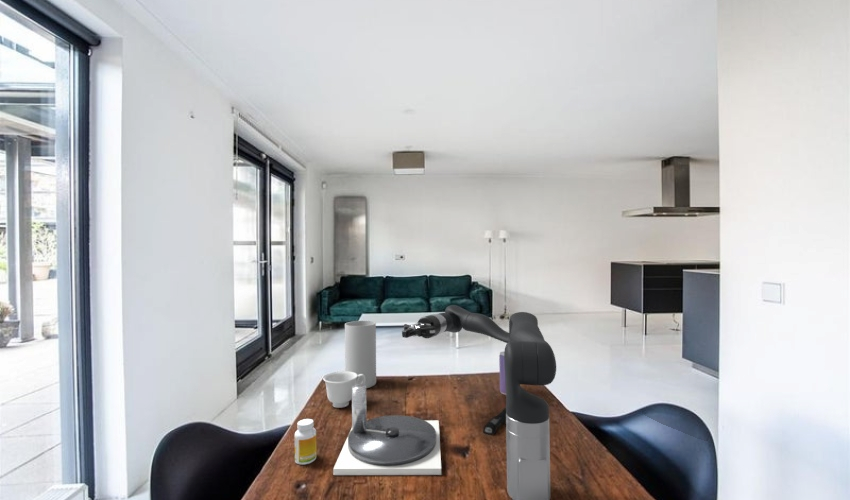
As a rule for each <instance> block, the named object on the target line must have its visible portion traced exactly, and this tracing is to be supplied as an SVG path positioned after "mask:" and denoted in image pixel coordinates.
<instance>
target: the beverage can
mask: <svg viewBox="0 0 850 500" xmlns="http://www.w3.org/2000/svg"><path fill="white" fill-rule="evenodd" d="M504 351H505V350H503V351H500V352H499V356H498V357H499V360H498V361H499V362H498V363H499V392H500V394H503V395H505V396H506V379H505V365H504Z"/></svg>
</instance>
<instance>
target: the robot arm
mask: <svg viewBox="0 0 850 500" xmlns="http://www.w3.org/2000/svg"><path fill="white" fill-rule="evenodd" d="M538 323H539V322H538V317H537V316H535V314H533V313H530V312H527V311H518V312H514V313H512V314H511V315H510V317H509V320H508V324H509V325H508V331H507V330H506V331H505V330H504V328H501V327H500V326H499V324H497V323H496V322H495V321H494V320H493V319H492V318H490V317H489V316H487V315H486V314H482V313H476V312H471V311H469V310H466V309H464V308H463V307H461V306H459V305H456V304H451V305H448V306H446V308H445V310H444V312H440V313H435V314H434V313H433V314H430V315H425V316H422V317H421V318H419V319H418V321H417V322H415V323H414V324H411V325H409V324H407V323H405V324H403V330H402V331H401V336H402V338H404V339H405V338H406V339H407V338H410V337H419V338H420V337H421V338H423V339H431V338H433V337H437V336H439V335H441V334H442V333H446V332H449V333H453V334H454V333H460V332H461V331H462V329H463V330H464V331H466V332H470V333H471V332H472V333H476V334H481V335H485V336H488V337H490V338H492V339H495V340H498V341H500V342H503V343H506V345H505V346H504V347H505V348H504V350H503V351H504V365H505V379H506V395H505V397H506V398H505V403H506V404H505V408H506V422H505V424H506V425H505V426H506V427H505V428H506V429H505V433H506V434H505V437H506V438H505V440H506V446H505V447H506V491H507V494H508V496H509V497H510V498H511V499H512V500H550V499H551V460H550V459H551V457H550V455H551V450H550V448H551V447H550V444H551V443H550V440H551V439H550V405H549V404H548V402H547V401H546V400H545V399H543V398H542V397H540V396H538V395H535V394H533V393H532V392H531V393H530V392H529V391H527V390H526V389H525V388H524V387H522V386H521V385H524V386H525V385H526V386H548V385H550V384H551V383H552V382H554V379H555V378H556V374H557V361H556V355H555V353H554V350H553V347H552V346H551V345H550V344H549V343H548V342H547V341H546V340H545V338H544V335H543V333H542V332H541V330H540V327H539V326H538V325H539V324H538Z"/></svg>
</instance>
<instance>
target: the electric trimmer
mask: <svg viewBox="0 0 850 500" xmlns="http://www.w3.org/2000/svg"><path fill="white" fill-rule="evenodd" d="M504 424H506V407H505V408H503V409H502V410H501V411H500V412H499V413H497V415H495V416H494V417H493V418H491V419H490V420H489V421H488V422H486V423H485V425H484V427H483V431H482V432H483V434H484V435H488V436H490V437H491V436H492V437H493V436H495V435H496V432H497V429H498V428H499V427H500V426H501V425H504Z"/></svg>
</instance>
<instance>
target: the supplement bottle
mask: <svg viewBox="0 0 850 500" xmlns="http://www.w3.org/2000/svg"><path fill="white" fill-rule="evenodd" d="M314 424H315V423H314V419H312V418H304V419H301V420H299V421H297V424H296V425H297V427H296V428H297V430H296V431H295V432H294V462H295V463H296V464H297V465H301V466H302V465H309V464H311V463H314V462H315V460H316V459H317V430H316V428H315V427H314Z"/></svg>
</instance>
